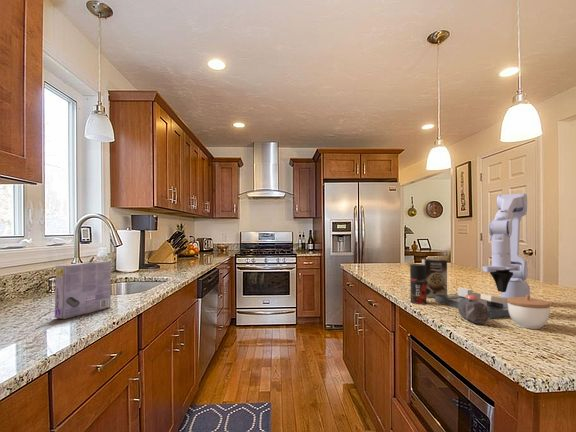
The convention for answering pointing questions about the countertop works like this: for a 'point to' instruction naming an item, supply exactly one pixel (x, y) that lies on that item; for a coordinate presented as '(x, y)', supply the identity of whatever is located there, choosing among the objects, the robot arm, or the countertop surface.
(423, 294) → the deodorant
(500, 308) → the panel
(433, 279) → the coffee box
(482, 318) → the perforated stone tool
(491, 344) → the countertop surface
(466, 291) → the fader knob
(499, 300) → the beige rectangular block
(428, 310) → the countertop surface
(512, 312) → the lidded jar
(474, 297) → the button
